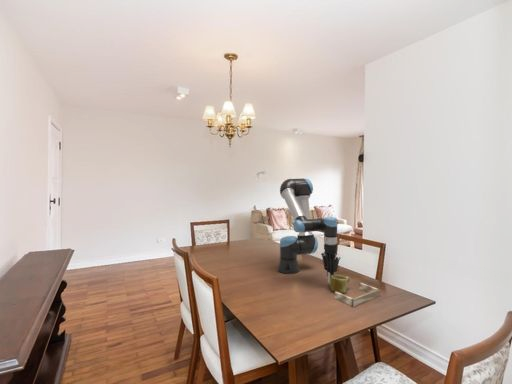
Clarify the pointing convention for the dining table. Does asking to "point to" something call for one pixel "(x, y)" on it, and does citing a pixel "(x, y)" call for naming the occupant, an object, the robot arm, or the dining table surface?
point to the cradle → (360, 299)
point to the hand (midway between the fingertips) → (330, 282)
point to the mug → (339, 283)
